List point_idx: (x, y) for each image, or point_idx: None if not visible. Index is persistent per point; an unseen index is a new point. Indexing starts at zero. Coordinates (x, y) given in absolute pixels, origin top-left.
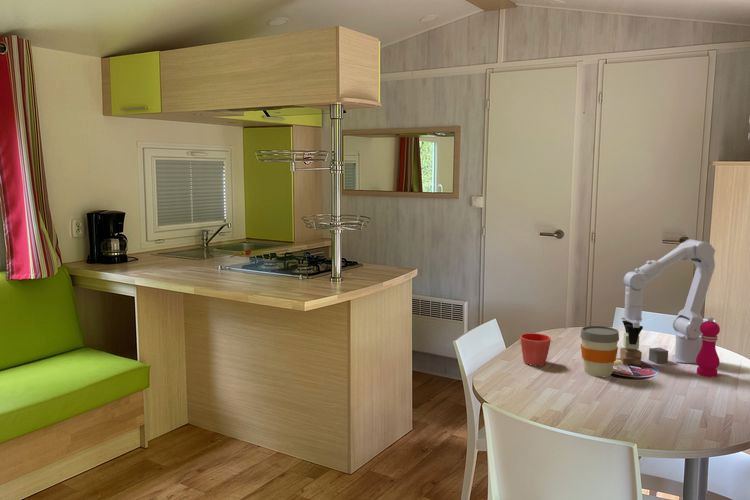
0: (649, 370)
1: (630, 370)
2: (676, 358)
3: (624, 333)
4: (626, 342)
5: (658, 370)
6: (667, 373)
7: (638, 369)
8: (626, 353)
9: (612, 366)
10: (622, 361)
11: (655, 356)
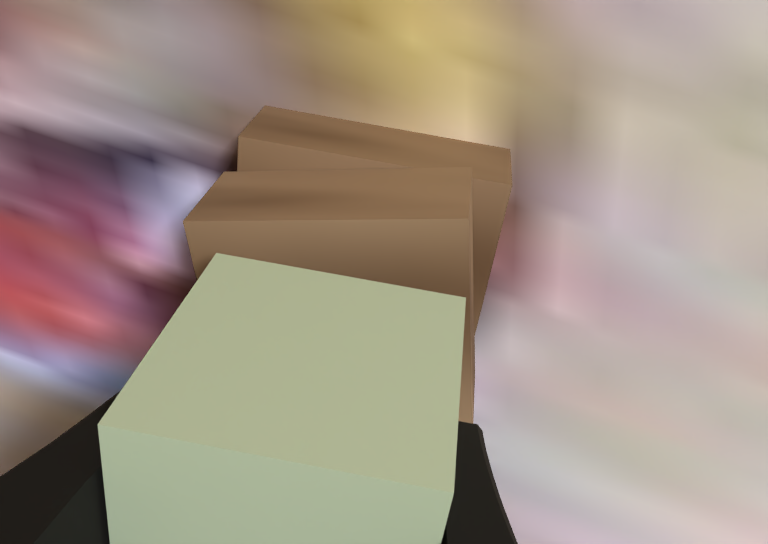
0: (80, 328)
1: (11, 117)
2: None
3: (367, 479)
4: (167, 331)
5: None
6: (31, 442)
7: (83, 228)
8: (190, 214)
9: None
10: (300, 123)
11: None
